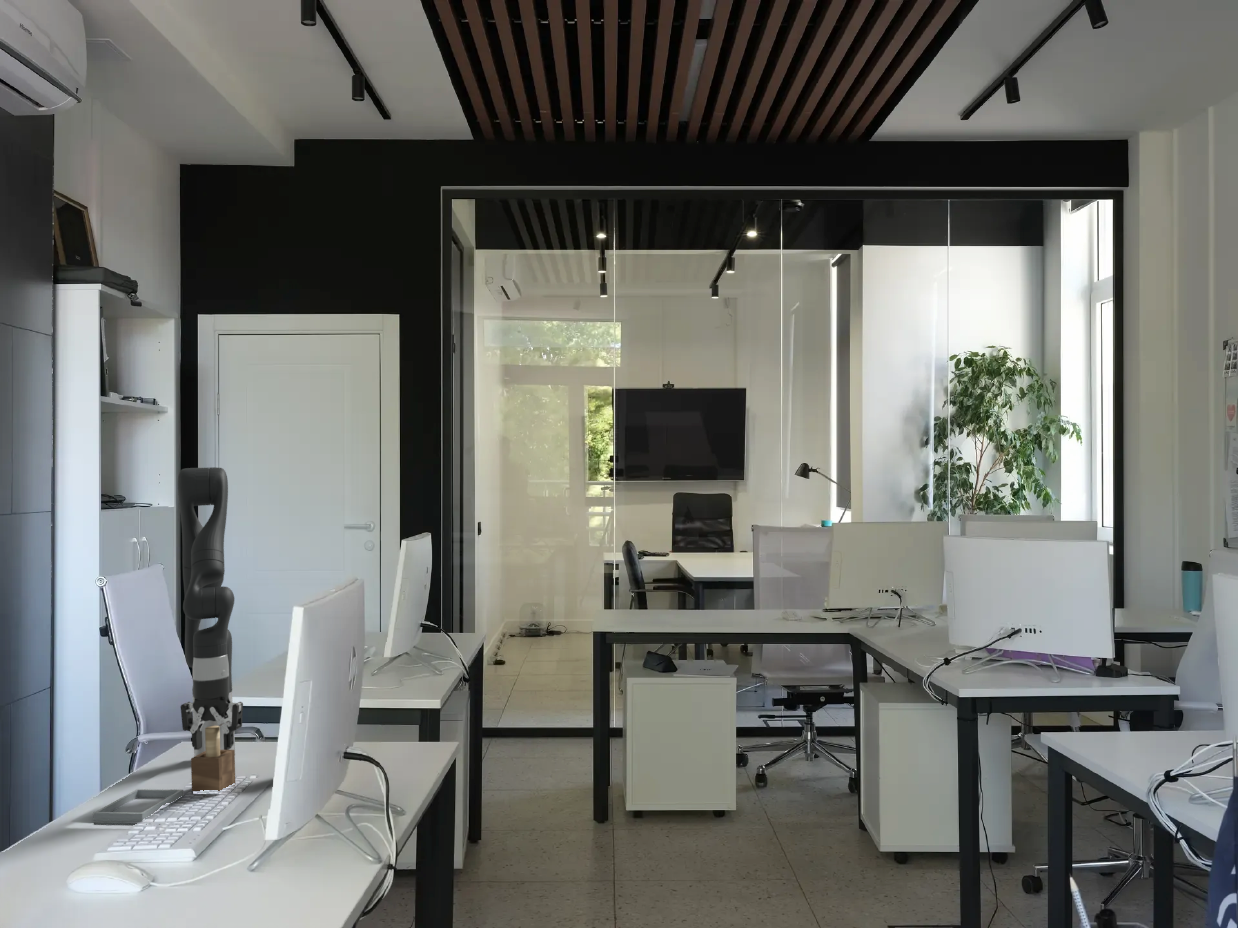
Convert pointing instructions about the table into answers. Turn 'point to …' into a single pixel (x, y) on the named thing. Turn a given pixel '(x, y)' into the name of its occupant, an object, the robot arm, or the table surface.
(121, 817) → the grey tray
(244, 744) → the table surface
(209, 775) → the walnut holder
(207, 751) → the birch dowel
